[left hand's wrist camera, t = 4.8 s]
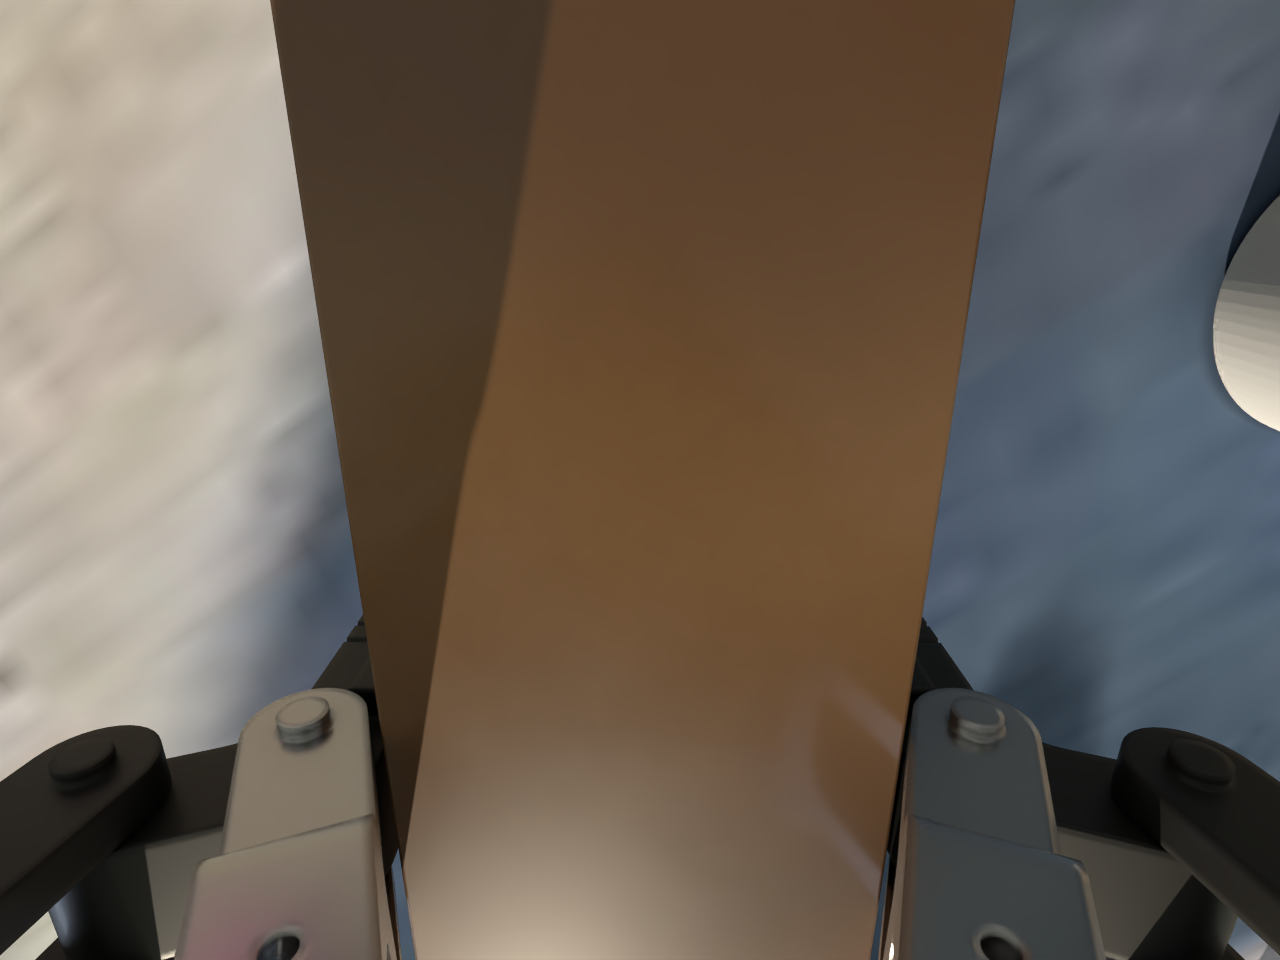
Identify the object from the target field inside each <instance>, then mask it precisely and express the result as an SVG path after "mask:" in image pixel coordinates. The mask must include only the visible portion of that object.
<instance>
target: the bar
mask: <svg viewBox="0 0 1280 960" xmlns="http://www.w3.org/2000/svg"><path fill="white" fill-rule="evenodd" d="M270 2H271V9H272V15H273V22H274V28H275V35H276V42H277V48H278V55H279V61H280V68H281V75H282V81H283V88H284V94H285V101H286V108H287V114H288V121H289V127H290V134H291V141H292V147H293V154H294V160H295V167H296V174H297V180H298V187H299V193H300V200H301V207H302V213H303V220H304V226H305V233H306V240H307V246H308V253H309V259H310V266H311V273H312V279H313V286H314V292H315V299H316V306H317V312H318V319H319V325H320V332H321V339H322V345H323V352H324V359H325V365H326V372H327V378H328V385H329V392H330V398H331V405H332V411H333V418H334V425H335V431H336V438H337V444H338V451H339V458H340V464H341V471H342V477H343V484H344V491H345V497H346V504H347V510H348V517H349V524H350V530H351V537H352V543H353V550H354V557H355V563H356V570H357V576H358V583H359V590H360V596H361V603H362V609H363V616H364V623H365V629H366V636H367V642H368V649H369V656H370V662H371V669H372V675H373V682H374V689H375V695H376V702H377V708H378V715H379V722H380V728H381V735H382V742H383V748H384V755H385V761H386V768H387V775H388V781H389V788H390V794H391V801H392V808H393V814H394V821H395V827H396V834H397V841H398V847H399V854H400V860H401V867H402V874H403V880H404V887H405V893H406V900H407V907H408V913H409V920H410V926H411V933H412V940H413V946H414V953H415V959H416V960H870V957H871V951H872V944H873V938H874V931H875V924H876V918H877V911H878V905H879V898H880V891H881V885H882V878H883V872H884V865H885V858H886V852H887V845H888V838H889V832H890V825H891V819H892V812H893V805H894V799H895V792H896V786H897V779H898V772H899V766H900V759H901V752H902V746H903V739H904V733H905V726H906V719H907V713H908V706H909V700H910V693H911V686H912V680H913V673H914V667H915V660H916V653H917V647H918V640H919V633H920V627H921V620H922V614H923V607H924V600H925V594H926V587H927V581H928V574H929V567H930V561H931V554H932V548H933V541H934V534H935V528H936V521H937V514H938V508H939V501H940V495H941V488H942V481H943V475H944V468H945V462H946V455H947V448H948V442H949V435H950V429H951V422H952V415H953V409H954V402H955V395H956V389H957V382H958V376H959V369H960V362H961V356H962V349H963V343H964V336H965V329H966V323H967V316H968V309H969V303H970V296H971V290H972V283H973V276H974V270H975V263H976V257H977V250H978V243H979V237H980V230H981V224H982V217H983V210H984V204H985V197H986V190H987V184H988V177H989V171H990V164H991V157H992V151H993V144H994V138H995V131H996V124H997V118H998V111H999V105H1000V98H1001V91H1002V85H1003V78H1004V71H1005V65H1006V58H1007V52H1008V45H1009V38H1010V32H1011V25H1012V19H1013V12H1014V5H1015V0H270Z"/></svg>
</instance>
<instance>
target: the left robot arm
mask: <svg viewBox="0 0 1280 960" xmlns="http://www.w3.org/2000/svg"><path fill="white" fill-rule="evenodd" d="M398 848H399V847H398V841H397V834H396V827H395V821H394V814H393V808H392V801H391V794H390V788H389V781H388V775H387V768H386V761H385V755H384V748H383V742H382V735H381V728H380V722H379V715H378V708H377V702H376V695H375V689H374V682H373V675H372V669H371V662H370V656H369V649H368V642H367V636H366V629H365V623H364V616H363V615H362V617H361V618H360V620H359V621H358V626H355V627H354V628H353V630H352V631H351V633H350V634H349V636H348V637H347V642H344V643H343V644H342V646H341V647H340V649H339V650H338V652H337V653H336V655H335V656H334V657H333V659H332V660H331V662H330V663H329V665H328V666H327V668H326V669H325V671H324V672H323V673H322V675H321V676H320V678H319V679H318V681H317V682H316V684H315V685H314V686H313V688H312V689H311V690H306V691H302V692H298V693H295V694H292V695H289V696H286V697H284V698H281V699H279V700H277V701H275V702H273V703H271V704H270V705H268V706H266V707H265V708H263V709H262V710H260V711H259V712H258V713H256V714H255V715H254V716H253V717H252V718H251V719H250V720H249V721H248V722H247V723H246V725H245V726H244V728H243V729H242V731H241V733H240V736H239V740H238V743H237V744H233V745H229V746H225V747H221V748H216V749H211V750H206V751H202V752H197V753H192V754H187V755H183V756H178V757H173V758H168V759H166V757H165V753H164V749H163V746H162V742H161V739H160V737H159V735H158V734H157V733H156V732H155V731H153V730H151V729H149V728H146V727H142V726H134V725H123V726H113V727H107V728H102V729H97V730H94V731H90V732H87V733H84V734H81V735H78V736H75V737H73V738H70V739H68V740H66V741H63V742H61V743H59V744H57V745H55V746H53V747H51V748H50V749H48V750H46V751H44V752H43V753H41V754H40V755H38V756H36V757H35V758H33V759H32V760H31V761H29V762H28V763H26V764H25V765H24V766H22V767H21V768H19V769H18V770H16V771H15V772H14V773H12V774H11V775H9V776H8V777H7V778H5V779H4V780H2V781H1V782H0V955H1V954H2V953H3V952H4V951H5V950H6V949H8V948H9V947H10V946H11V945H12V944H13V943H14V942H15V941H16V940H17V939H18V938H19V937H21V936H22V935H23V934H24V933H25V932H26V931H27V930H28V929H29V928H30V927H31V926H32V925H34V924H35V923H36V922H37V921H38V920H39V919H40V918H41V917H42V916H43V915H44V914H45V913H47V912H49V914H50V917H51V919H52V922H53V925H54V927H55V930H56V933H57V935H58V938H57V939H56V940H55V941H54V942H53V943H52V944H51V945H50V946H49V947H48V948H47V949H46V950H45V951H44V952H43V953H42V954H41V955H40V956H39V957H38V958H37V959H35V960H402V956H401V945H400V935H399V925H398V914H397V904H396V894H395V883H394V876H393V870H392V863H393V861H394V858H395V855H396V853H397V850H398ZM887 850H888V853H889V855H890V857H889V864H888V870H887V876H886V883H885V894H884V904H883V914H882V925H881V935H880V945H879V956H878V960H1245V959H1243V958H1242V957H1241V956H1240V955H1239V954H1238V953H1237V952H1236V951H1235V950H1234V949H1233V948H1232V947H1231V946H1230V945H1229V944H1228V942H1229V939H1230V936H1231V934H1232V931H1233V929H1234V926H1235V924H1236V921H1237V918H1238V917H1239V918H1240V919H1241V920H1242V921H1243V922H1244V923H1245V924H1246V925H1248V926H1249V927H1250V928H1251V929H1252V930H1253V931H1254V932H1255V933H1256V934H1257V935H1258V936H1259V937H1261V938H1262V939H1263V940H1264V941H1265V942H1266V943H1267V944H1268V945H1269V946H1270V947H1271V948H1272V949H1274V950H1275V951H1276V952H1277V953H1278V954H1279V955H1280V782H1279V781H1278V780H1276V779H1275V778H1273V777H1272V776H1271V775H1269V774H1268V773H1266V772H1265V771H1264V770H1262V769H1261V768H1259V767H1258V766H1257V765H1255V764H1254V763H1252V762H1251V761H1249V760H1248V759H1246V758H1245V757H1243V756H1242V755H1240V754H1239V753H1237V752H1235V751H1233V750H1231V749H1229V748H1228V747H1226V746H1224V745H1221V744H1219V743H1217V742H1215V741H1212V740H1210V739H1207V738H1204V737H1202V736H1199V735H1196V734H1192V733H1189V732H1185V731H1180V730H1176V729H1169V728H1156V727H1151V728H1142V729H1138V730H1134V731H1132V732H1130V733H1128V734H1127V735H1126V736H1125V737H1124V739H1123V741H1122V744H1121V747H1120V751H1119V754H1118V758H1117V760H1116V759H1111V758H1106V757H1102V756H1097V755H1092V754H1087V753H1083V752H1078V751H1073V750H1068V749H1064V748H1060V747H1056V746H1052V745H1049V744H1046V743H1043V742H1042V740H1041V736H1040V733H1039V731H1038V729H1037V728H1036V726H1035V725H1034V723H1033V722H1032V721H1031V720H1030V719H1029V718H1028V717H1027V716H1026V715H1025V714H1024V713H1022V712H1021V711H1020V710H1018V709H1017V708H1015V707H1014V706H1012V705H1010V704H1009V703H1007V702H1005V701H1003V700H1001V699H999V698H996V697H994V696H991V695H988V694H985V693H982V692H978V691H974V690H973V688H972V687H971V686H970V684H969V683H968V681H967V680H966V678H965V677H964V676H963V674H962V673H961V671H960V670H959V668H958V667H957V666H956V664H955V663H954V661H953V660H952V658H951V657H950V656H949V654H948V653H947V651H946V650H945V648H944V647H943V646H942V644H941V643H938V638H937V637H936V636H935V634H934V633H933V631H932V630H931V628H930V627H927V623H926V621H925V620H924V618H923V617H922V620H921V627H920V633H919V640H918V647H917V653H916V660H915V667H914V673H913V680H912V686H911V693H910V700H909V706H908V713H907V719H906V726H905V733H904V739H903V746H902V752H901V759H900V766H899V772H898V779H897V786H896V792H895V799H894V805H893V812H892V819H891V825H890V832H889V838H888V845H887Z"/></svg>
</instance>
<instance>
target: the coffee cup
mask: <svg viewBox="0 0 1280 960" xmlns="http://www.w3.org/2000/svg"><path fill="white" fill-rule="evenodd" d="M1213 347H1214V355H1215V360H1216V364H1217V368H1218V371H1219V374H1220V376H1221V379H1222V381H1223V383H1224V385H1225V387H1226V389H1227V391H1228V392H1229V394H1230V395H1231V397H1232V398H1233V399H1234V400H1235V402H1236V403H1237V404H1238V405H1239V406H1240V407H1241V408H1242V409H1243V410H1244V411H1245V412H1246V413H1248V414H1249V415H1250V416H1252V417H1253V418H1255V419H1256V420H1258V421H1259V422H1261V423H1263V424H1265V425H1267V426H1269V427H1271V428H1274V429H1276V430H1278V431H1280V196H1279V197H1277V198H1276V199H1275V200H1274V202H1273V203H1272V204H1271V205H1270V206H1269V207H1268V208H1267V209H1266V210H1265V212H1264V213H1263V214H1262V215H1261V216H1260V218H1259V219H1258V220H1257V221H1256V223H1255V224H1254V225H1253V227H1252V228H1251V230H1250V231H1249V232H1248V234H1247V235H1246V237H1245V238H1244V240H1243V242H1242V243H1241V245H1240V246H1239V248H1238V250H1237V252H1236V254H1235V256H1234V257H1233V259H1232V261H1231V264H1230V266H1229V268H1228V270H1227V272H1226V275H1225V277H1224V280H1223V283H1222V286H1221V289H1220V292H1219V296H1218V299H1217V304H1216V309H1215V315H1214V324H1213Z"/></svg>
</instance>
